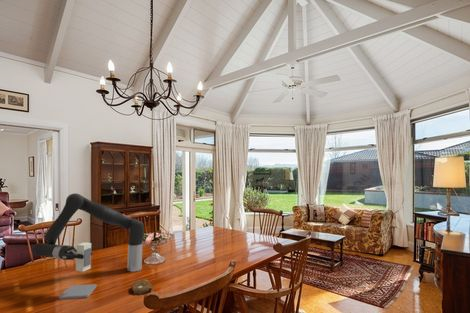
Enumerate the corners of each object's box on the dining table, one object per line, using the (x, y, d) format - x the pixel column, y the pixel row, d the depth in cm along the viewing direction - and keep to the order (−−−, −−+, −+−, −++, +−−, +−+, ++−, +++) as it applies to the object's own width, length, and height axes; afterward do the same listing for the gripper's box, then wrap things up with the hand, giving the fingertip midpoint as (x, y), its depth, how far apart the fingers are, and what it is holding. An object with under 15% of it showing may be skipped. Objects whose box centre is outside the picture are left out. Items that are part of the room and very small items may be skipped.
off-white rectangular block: (83, 267, 150) (84, 242, 150) (91, 268, 148) (91, 243, 149) (75, 270, 145) (76, 244, 146) (83, 271, 143) (84, 245, 144)
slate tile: (70, 287, 152) (70, 285, 152) (96, 286, 155) (96, 284, 155) (58, 299, 138) (58, 296, 139) (87, 297, 141) (87, 295, 141)
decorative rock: (129, 287, 155) (133, 298, 143) (128, 280, 155) (133, 291, 143) (148, 282, 161) (155, 292, 148) (148, 275, 161) (155, 285, 148)
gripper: (52, 249, 145) (76, 252, 140) (75, 242, 158) (98, 244, 153) (51, 263, 144) (76, 266, 139) (74, 255, 158) (97, 258, 153)
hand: (87, 255), depth 146 cm, fingers closed on off-white rectangular block, 5 cm apart
